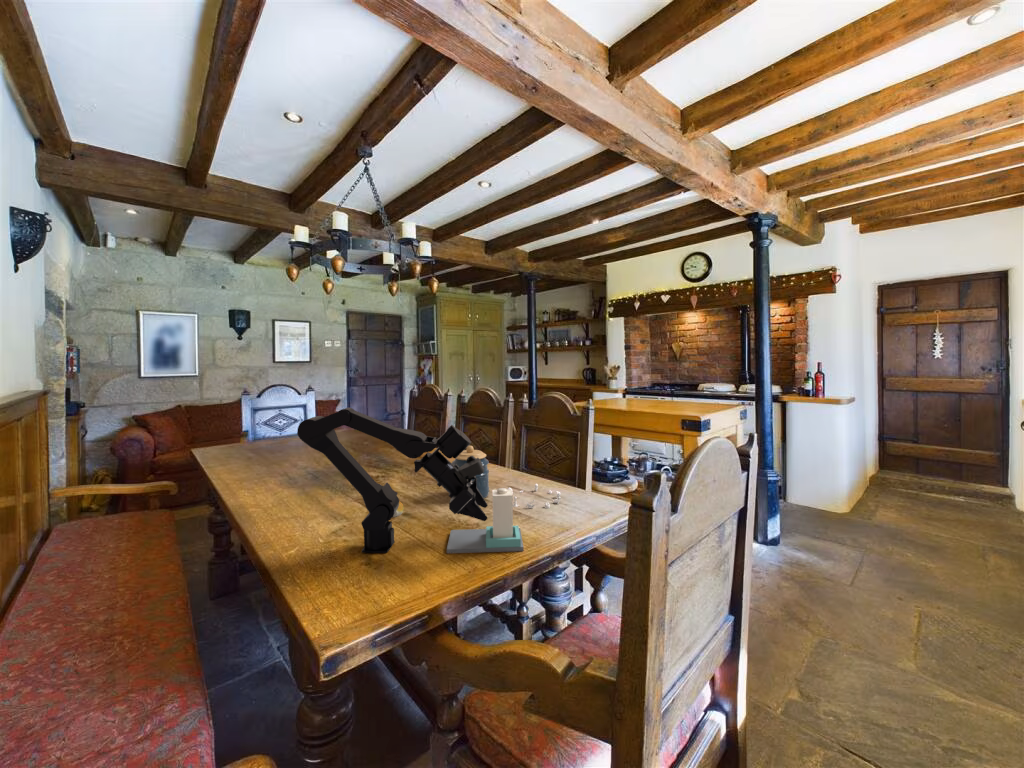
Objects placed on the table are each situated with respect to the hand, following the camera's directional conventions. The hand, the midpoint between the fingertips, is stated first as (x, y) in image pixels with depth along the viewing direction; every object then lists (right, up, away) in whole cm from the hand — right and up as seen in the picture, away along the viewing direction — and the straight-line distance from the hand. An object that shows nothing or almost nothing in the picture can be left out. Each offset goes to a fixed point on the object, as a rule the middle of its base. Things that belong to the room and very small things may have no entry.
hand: (486, 512), depth 110 cm
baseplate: (0, -8, +2) cm, 8 cm away
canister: (-8, -6, +40) cm, 41 cm away
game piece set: (+14, -7, +35) cm, 39 cm away
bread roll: (-31, -8, +24) cm, 40 cm away
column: (+4, -7, +1) cm, 8 cm away
